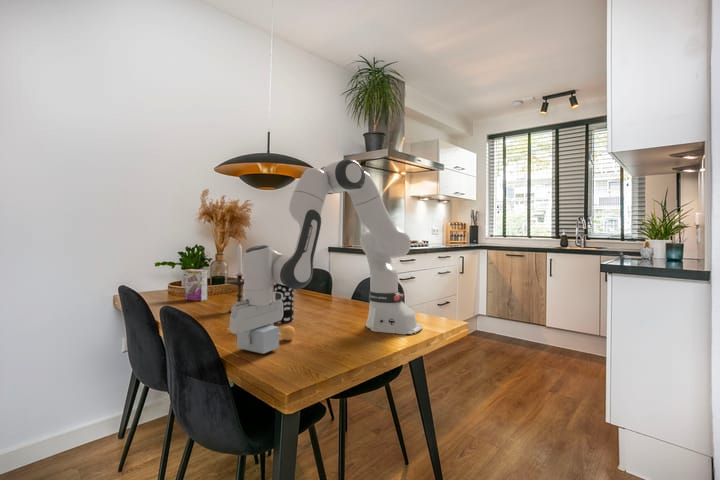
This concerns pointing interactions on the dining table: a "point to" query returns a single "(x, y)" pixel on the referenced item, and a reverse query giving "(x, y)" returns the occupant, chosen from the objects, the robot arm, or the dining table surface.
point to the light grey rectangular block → (261, 339)
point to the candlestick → (239, 280)
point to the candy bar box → (195, 285)
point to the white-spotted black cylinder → (286, 302)
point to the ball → (287, 332)
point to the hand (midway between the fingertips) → (258, 340)
